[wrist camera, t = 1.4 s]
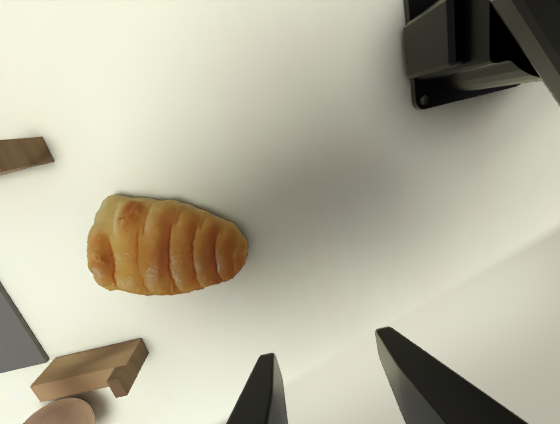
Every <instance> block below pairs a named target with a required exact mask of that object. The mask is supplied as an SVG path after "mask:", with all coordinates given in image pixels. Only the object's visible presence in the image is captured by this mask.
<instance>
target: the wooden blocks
mask: <svg viewBox="0 0 560 424" xmlns="http://www.w3.org/2000/svg"><path fill="white" fill-rule="evenodd" d="M50 162H54V160H53V158H52V156H51V154H50V152H49V150H48V148H47V146H46V144H45V142H44V140H43V138H42V137H36V138H22V139H9V140H0V175H2V174H6V173H10V172H14V171H18V170H22V169H26V168H30V167H34V166H38V165H42V164H46V163H50ZM147 355H148V351H147V349H146V347H145V345H144V343H143V341H142V339H141V338H140V339H136V340H131V341H127V342H123V343H118V344H114V345H109V346H105V347H101V348H96V349H92V350H88V351H83V352H79V353H75V354H70V355H66V356H62V357H57V358H55V359H54V360H53V361H52V362H51V364H50V365H49V366H48V367H47V368H46V369H45V370H44V371H43V373H42V374H41V375H40V376H39V377H38V378H37V379H36V380H35V382H34V383H33V384H32V385H31V386H30V387H31V389H32V390H33V392H34V393H35V395H36V396H37V398H38V399H39V400H40V402H43V401H47V400H52V399H56V398H61V397H65V396H70V395H74V394H78V393H83V392H87V391H92V390H96V389H101V388H105V387H110V389H111V390H112V392H113V394H114V396H115V397H116V398H117V397H122V396H126V395H128V393H129V391H130V389H131V387H132V385H133V383H134V381H135V379H136V377H137V375H138V373H139V371H140V369H141V367H142V365H143V363H144V361H145V359H146V357H147Z"/></svg>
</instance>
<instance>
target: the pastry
mask: <svg viewBox="0 0 560 424" xmlns="http://www.w3.org/2000/svg"><path fill="white" fill-rule="evenodd" d="M87 243H88V246H87V258H88V268H89V270H90V271H91V272H92V274H93V275H94V279H95V281H96V282H97V283H98V284H99V285H100V286H102V287H104V288H106V289H108V290H109V291H113V290H122V291H126V292H129V293H134V294H139V295H147V296H149V295H175V294H181V293H189V292H191V291H193V290H200V289H203V288H205V287H207V286H210V285H214V284H219V283H221V282H225V281H228V280H230V279H232V278H234V276H235V275H236V274H237V273H238V272H239V271H240V270H241V268H242V267H243V265H244V264H245V261H246V258H247V254H248V243H247V240H246V238H245V237H244V236H243V235H242V233H241V232H240V230H239V229H238V227H237V226H236V225H235V224H234V223H233V222H231V221H227V220H224V219H223V218H221V217H217V216H214V215H213V214H211V213H210V212H208V211H206V210H201V209H198V208H196V207H195V206H193V205H191V204H190V203H181V202H179V201H176V200H170V199H167V200H163V201H161V200H157V199H150V198H143V197H132V198H130V197H126V196H122V195H111V196H108V197H107V198H106V199H105V200H103V202H102V204H101V206H100V209H99V211H98V212H97V213H96V215H95V222H94V225H93V226H92V227H91V229H90V232H89V235H88V241H87Z"/></svg>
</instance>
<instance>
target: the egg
mask: <svg viewBox="0 0 560 424" xmlns="http://www.w3.org/2000/svg"><path fill="white" fill-rule="evenodd" d="M23 424H96V422H95V415H94V413H93V410H92V408H91V406H90V405H89V404H88V403H87V402H85V401H84V400H82V399H79V398H64V399H61V400H57V401H55V402H52V403H50V404H48V405H46V406H44V407H42V408H41V409H39V410H38V411H37V412H35V413H34V414H33V415H31V416H30V417H29V418H28V419H27V420H26V421H25V422H24V423H23Z"/></svg>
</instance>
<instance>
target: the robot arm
mask: <svg viewBox="0 0 560 424" xmlns="http://www.w3.org/2000/svg"><path fill="white" fill-rule="evenodd" d="M405 13H406V26H405V28H404V40H405V52H406V64H407V75H408V76H409V77H410V78H411V88H412V101H413V106H414V107H415V108H416V109H427V108H431V107H435V106H439V105H443V104H447V103H451V102H455V101H459V100H463V99H467V98H471V97H475V96H479V95H483V94H487V93H492V92H496V91H500V90H504V89H508V88H512V87H516V86H518V85H520V84H521V83H528V82H535V81H543V82H544V84H545V85H546V87H547V88H548V90H549V91H550V93H551V94H552V96H553V97H554V99H555V100H556V102H557V103H558V105H559V106H560V0H405ZM422 96H423V97H424V98H425V102H424V104H421V103H420V99H421V97H422ZM375 336H376V342H377V348H378V354H379V357H380V360H381V363H382V366H383V368H384V371H385V373H386V376H387V378H388V381H389V383H390V386H391V388H392V391H393V393H394V396H395V399H396V401H397V403H398V406H399V409H400V411H401V413H402V416H403V418H404V420H405V423H406V424H528V423H527V422H525V421H524V420H523V419H521V418H520V417H518V416H517V415H515V414H514V413H513V412H511V411H510V410H508V409H507V408H506V407H504V406H503V405H501V404H500V403H498V402H497V401H495V400H494V399H493V398H491V397H490V396H488V395H487V394H486V393H484V392H483V391H481V390H480V389H478V388H477V387H476V386H474V385H472V384H471V383H470V382H468V381H467V380H466V379H464V378H463V377H461V376H460V375H458V374H457V373H456V372H454V371H453V370H451V369H450V368H449V367H447V366H446V365H444V364H443V363H441V362H440V361H438V360H437V359H436V358H434V357H433V356H431V355H430V354H429V353H427V352H426V351H424V350H423V349H421V348H420V347H419V346H417V345H416V344H414V343H413V342H411V341H410V340H409V339H407V338H406V337H404V336H403V335H401V334H400V333H399V332H397V331H396V330H394V329H393V328H391V327H384V328H379V329H376V331H375ZM226 424H288V419H287V411H286V403H285V395H284V386H283V379H282V375H281V371H280V368H279V365H278V362H277V359H276V356H275V354H274V353H269V354H264V355H261V356H260V357H259V358H258V360H257V362H256V364H255V366H254V368H253V370H252V373H251V375H250V377H249V379H248V381H247V383H246V385H245V387H244V389H243V391H242V393H241V395H240V397H239V399H238V401H237V403H236V405H235V407H234V409H233V411H232V413H231V415H230V417H229V419H228V421H227V423H226Z"/></svg>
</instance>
